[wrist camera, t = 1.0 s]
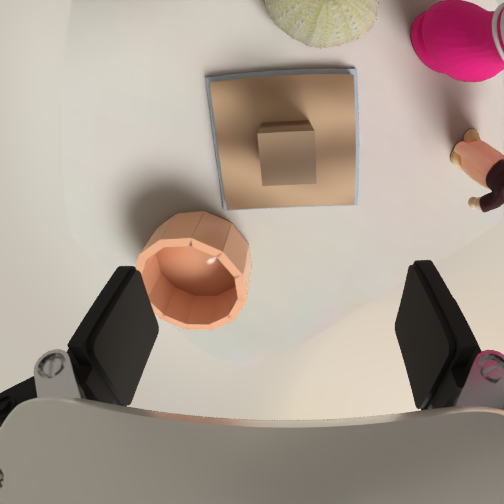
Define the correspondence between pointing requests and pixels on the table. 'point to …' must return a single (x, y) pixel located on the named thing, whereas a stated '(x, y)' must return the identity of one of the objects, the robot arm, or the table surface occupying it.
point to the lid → (286, 140)
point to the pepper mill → (460, 40)
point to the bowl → (196, 270)
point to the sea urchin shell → (323, 19)
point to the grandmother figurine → (481, 169)
